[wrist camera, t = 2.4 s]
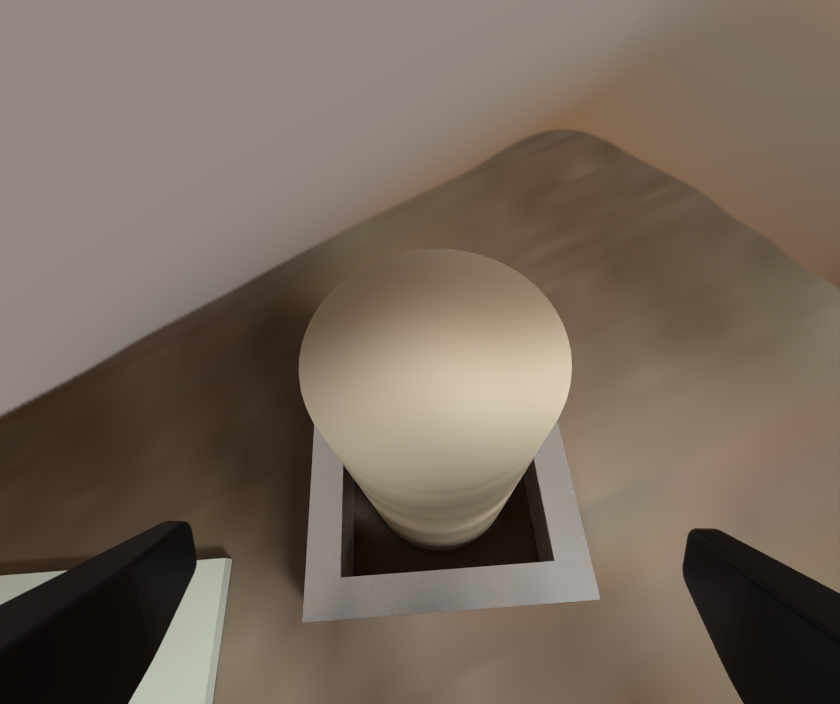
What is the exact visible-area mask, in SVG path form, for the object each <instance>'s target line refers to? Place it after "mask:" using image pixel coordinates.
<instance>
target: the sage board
mask: <svg viewBox="0 0 840 704" xmlns="http://www.w3.org/2000/svg"><path fill="white" fill-rule="evenodd" d="M231 565H232V559H228V558H219V559H206V560H197V565H196V569H195V573H194V575H193V577H192V579H191V581H190V584H189V586H188V588H187V590H186V592H185V594H184V596H183V598H182V601H181V603H180V605H179V607H178V609H177V611H176V613H175V616H174V618H173V620H172V622H171V624H170V626H169V628H168V630H167V633H166V635H165V637H164V639H163V641H162V643H161V645H160V647H159V649H158V651H157V653H156V655H155V657H154V659H153V661H152V663H151V665H150V666H149V668H148V670H147V672H146V674H145V676H144V677H143V679H142V681H141V682H140V684H139V686H138V688H137V689H136V691H135V693H134V695H133V696H132V698H131V700H130V702H129V703H128V704H212V702H213V695H214V687H215V680H216V673H217V666H218V659H219V651H220V644H221V637H222V630H223V622H224V615H225V608H226V601H227V594H228V586H229V579H230V572H231ZM66 571H68V570H66ZM66 571H53V572H41V573H28V574H15V575H3V576H0V605H1V604H3V603H5V602H7V601H9V600H11V599H13V598H15V597H17V596H18V595H20V594H22V593H24V592H26V591H28V590H30V589H32V588H34V587H36V586H38V585H40V584H42V583H44V582H46V581H48V580H50V579H52V578H54V577H56V576H58V575H60V574H62V573H64V572H66Z"/></svg>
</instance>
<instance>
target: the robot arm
mask: <svg viewBox="0 0 840 704" xmlns="http://www.w3.org/2000/svg"><path fill="white" fill-rule="evenodd" d="M196 565H197V556H196V551H195V545H194V540H193V534H192V529H191V526H190V525H189V523H187V522H185V521H166V522H163V523H160V524H158V525H157V526H155V527H153V528H151V529H149V530H147V531H145V532H143V533H141V534H139V535H137V536H135V537H133V538H131V539H129V540H127V541H125V542H123V543H121V544H119V545H117V546H115V547H113V548H111V549H109V550H107V551H105V552H103V553H101V554H99V555H97V556H95V557H93V558H91V559H89V560H87V561H86V562H84V563H82V564H80V565H78V566H76V567H74V568H72V569H70V570H68V571H66V572H64V573H62V574H60V575H58V576H56V577H54V578H52V579H50V580H48V581H46V582H44V583H42V584H40V585H38V586H36V587H34V588H32V589H30V590H28V591H26V592H24V593H22V594H20V595H18V596H17V597H15V598H13V599H11V600H9V601H7V602H5V603H3V604H1V605H0V704H128V703H129V702H130V700H131V698H132V696H133V695H134V693H135V691H136V689H137V688H138V686H139V684H140V682H141V681H142V679H143V677H144V676H145V674H146V672H147V670H148V668H149V666H150V665H151V663H152V661H153V659H154V657H155V655H156V653H157V651H158V649H159V647H160V645H161V643H162V641H163V639H164V637H165V635H166V633H167V630H168V628H169V626H170V624H171V622H172V620H173V618H174V616H175V613H176V611H177V609H178V607H179V605H180V603H181V601H182V598H183V596H184V594H185V592H186V590H187V588H188V586H189V584H190V581H191V579H192V577H193V575H194V573H195V569H196ZM683 577H684V580H685V583H686V585H687V588H688V590H689V592H690V594H691V596H692V599H693V601H694V603H695V605H696V607H697V609H698V612H699V614H700V616H701V618H702V620H703V623H704V625H705V627H706V629H707V631H708V633H709V636H710V638H711V640H712V642H713V644H714V646H715V649H716V651H717V653H718V655H719V657H720V660H721V662H722V664H723V666H724V668H725V670H726V672H727V674H728V676H729V678H730V680H731V682H732V683H733V685H734V687H735V689H736V691H737V693H738V694H739V696H740V698H741V700H742V701H743V703H744V704H840V593H838V592H836V591H834V590H832V589H830V588H828V587H826V586H825V585H823V584H821V583H819V582H817V581H815V580H813V579H811V578H809V577H807V576H806V575H804V574H802V573H800V572H798V571H796V570H794V569H792V568H790V567H788V566H787V565H785V564H783V563H781V562H779V561H777V560H775V559H773V558H771V557H770V556H768V555H766V554H764V553H762V552H760V551H758V550H756V549H754V548H752V547H751V546H749V545H747V544H745V543H743V542H741V541H739V540H737V539H735V538H733V537H732V536H730V535H728V534H726V533H724V532H722V531H720V530H718V529H701V528H695V529H692V530H691V531H690V532H689V534H688V537H687V543H686V550H685V556H684V562H683Z"/></svg>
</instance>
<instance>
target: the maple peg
mask: <svg viewBox="0 0 840 704" xmlns="http://www.w3.org/2000/svg"><path fill="white" fill-rule="evenodd" d="M571 373H572V361H571V350H570V346H569V341H568V337H567V334H566V331H565V329H564V326H563V323H562V321H561V319H560V318H559V316H558V314H557V312H556V310H555V309H554V307H553V306H552V304H551V303H550V302H549V300H548V299H547V298H546V296H545V295H544V294H543V293H542V292H541V291H540V290H539V289H538V288H537V287H536V286H535V285H534V284H533V283H531V282H530V281H529V280H528V279H527V278H525V277H524V276H523V275H521V274H520V273H518V272H517V271H515V270H514V269H512V268H510V267H508V266H506V265H504V264H502V263H500V262H498V261H496V260H493V259H491V258H488V257H485V256H482V255H478V254H475V253H471V252H466V251H460V250H453V249H421V250H413V251H407V252H403V253H398V254H394V255H391V256H388V257H385V258H382V259H379V260H377V261H375V262H373V263H371V264H369V265H366V266H365V267H363V268H361V269H360V270H358V271H356V272H354V273H353V274H351V275H350V276H349V277H347V278H346V279H345V280H343V281H342V282H341V283H340V284H339V285H338V286H337V287H336V288H334V289H333V290H332V291H331V292H330V293H329V295H328V296H327V297H326V298H325V299H324V301H323V302H322V303H321V304H320V306H319V307H318V309H317V310H316V312H315V313H314V315H313V317H312V319H311V321H310V323H309V325H308V327H307V329H306V332H305V335H304V338H303V342H302V345H301V351H300V357H299V380H300V387H301V393H302V396H303V399H304V403H305V406H306V408H307V411H308V413H309V415H310V417H311V419H312V421H313V423H314V424H315V426H316V427H317V429H318V430H319V432H320V433H321V435H322V436H323V437H324V439H325V440H326V442H327V443H328V444H329V446H330V447H331V448H332V450H333V451H334V452H335V454H336V455H337V457H338V458H339V459H340V461H341V462H342V463H343V465H344V466H345V468H346V469H347V470H348V472H349V473H350V474H351V476H352V477H353V478H354V480H355V481H356V483H357V484H358V485H359V487H360V488H361V489H362V491H363V492H364V494H365V495H366V496H367V498H368V499H369V500H370V502H371V503H372V504H373V506H374V507H375V509H376V510H377V511H378V513H379V514H380V515H381V517H382V518H383V520H384V521H385V522H386V524H387V525H388V526H389V527H390V528H391V530H392V531H393V532H394V533H395V534H396V535H398V536H399V537H400V538H401V539H403V540H404V541H406V542H408V543H409V544H411V545H414V546H416V547H419V548H422V549H426V550H432V551H448V550H454V549H458V548H461V547H464V546H466V545H468V544H470V543H472V542H474V541H475V540H477V539H478V538H479V537H481V536H482V535H483V534H484V533H485V532H486V531H487V530H488V529H489V528H490V526H491V525H492V524H493V522H494V521H495V519H496V518H497V516H498V514H499V513H500V511H501V510H502V508H503V506H504V505H505V503H506V502H507V500H508V498H509V497H510V495H511V494H512V492H513V490H514V489H515V487H516V485H517V484H518V482H519V481H520V479H521V477H522V476H523V474H524V473H525V471H526V469H527V468H528V466H529V465H530V463H531V461H532V460H533V458H534V457H535V455H536V453H537V452H538V450H539V449H540V447H541V445H542V444H543V442H544V441H545V439H546V437H547V436H548V434H549V433H550V431H551V429H552V428H553V426H554V425H555V423H556V421H557V420H558V418H559V416H560V414H561V412H562V409H563V407H564V405H565V403H566V399H567V396H568V392H569V388H570V383H571Z"/></svg>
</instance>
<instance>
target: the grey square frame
mask: <svg viewBox="0 0 840 704" xmlns="http://www.w3.org/2000/svg"><path fill="white" fill-rule="evenodd" d="M523 477H524V482H525V488H526V493H527V498H528V504H529V509H530V514H531V520H532V525H533V530H534V536H535V541H536V547H537V552H538V557H539V562H535V563H522V564H509V565H496V566H483V567H470V568H458V569H445V570H432V571H419V572H406V573H394V574H381V575H368V576H355V577H354V520H355V480H354V478H353V477H352V476H351V474H350V473H349V472H348V470H347V469H346V468H345V466H344V465H343V463H342V462H341V461H340V459H339V458H338V457H337V455H336V454H335V452H334V451H333V450H332V448H331V447H330V446H329V444H328V443H327V442H326V440H325V439H324V437H323V436H322V435H321V433H320V432H319V430H318V429H317V427H316V426H315V424H314V439H313V455H312V472H311V489H310V505H309V522H308V539H307V555H306V572H305V589H304V605H303V622H315V621H328V620H341V619H353V618H366V617H379V616H392V615H405V614H418V613H431V612H444V611H457V610H470V609H483V608H496V607H509V606H522V605H535V604H548V603H560V602H573V601H586V600H599V599H600V596H599V592H598V587H597V583H596V579H595V575H594V571H593V567H592V562H591V558H590V554H589V550H588V546H587V542H586V538H585V533H584V529H583V525H582V521H581V517H580V513H579V509H578V504H577V500H576V496H575V492H574V488H573V484H572V480H571V475H570V471H569V467H568V463H567V459H566V455H565V451H564V446H563V442H562V438H561V434H560V430H559V426H558V422H557V421H556V423H555V425H554V426H553V428H552V429H551V431H550V433H549V434H548V436H547V437H546V439H545V441H544V442H543V444H542V445H541V447H540V449H539V450H538V452H537V453H536V455H535V457H534V458H533V460H532V461H531V463H530V465H529V466H528V468H527V469H526V471H525V473H524V474H523Z"/></svg>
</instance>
